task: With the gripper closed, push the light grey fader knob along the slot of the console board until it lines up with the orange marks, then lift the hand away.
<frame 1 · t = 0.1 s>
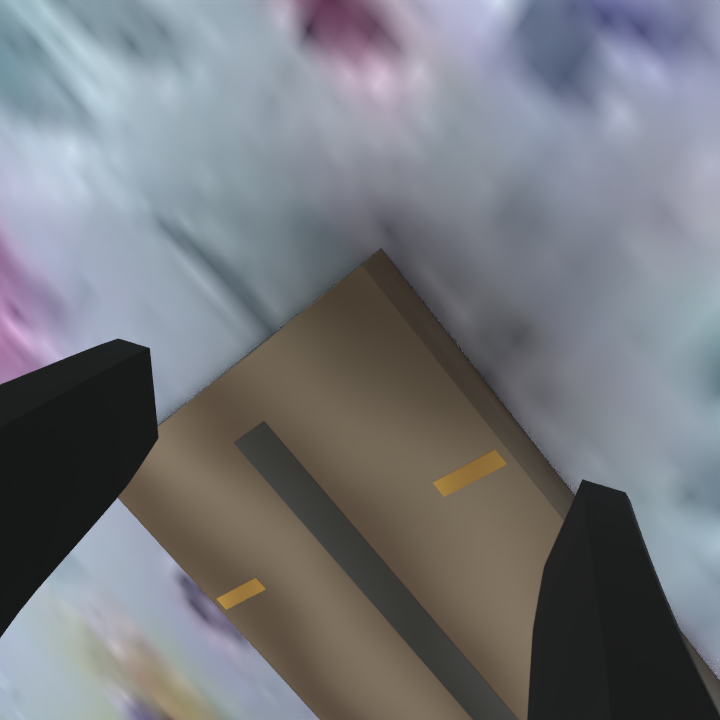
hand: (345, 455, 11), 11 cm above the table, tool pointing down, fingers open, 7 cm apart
console board: (424, 584, 25), on the table
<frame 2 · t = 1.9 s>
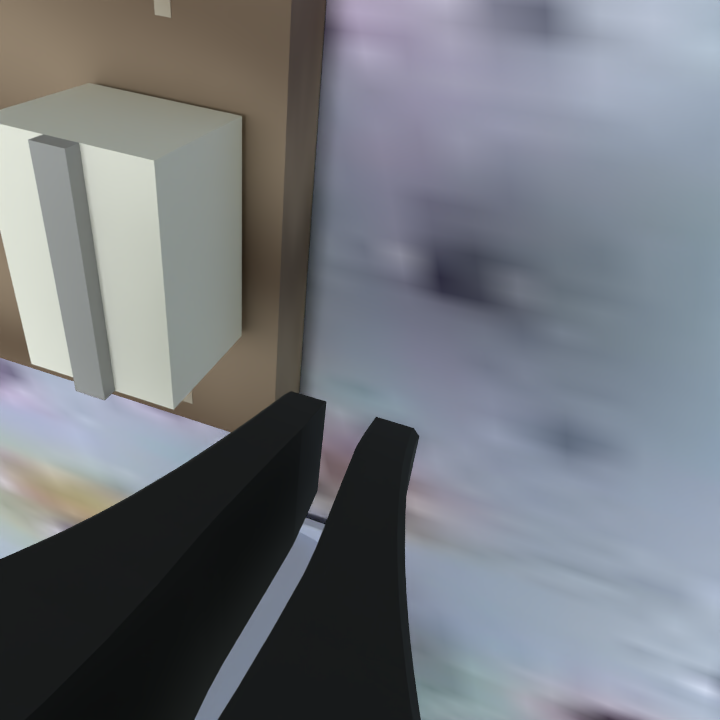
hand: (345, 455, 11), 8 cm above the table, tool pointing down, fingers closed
fader knob: (126, 249, 15), point 4 cm above the table, slide at 0.0 cm
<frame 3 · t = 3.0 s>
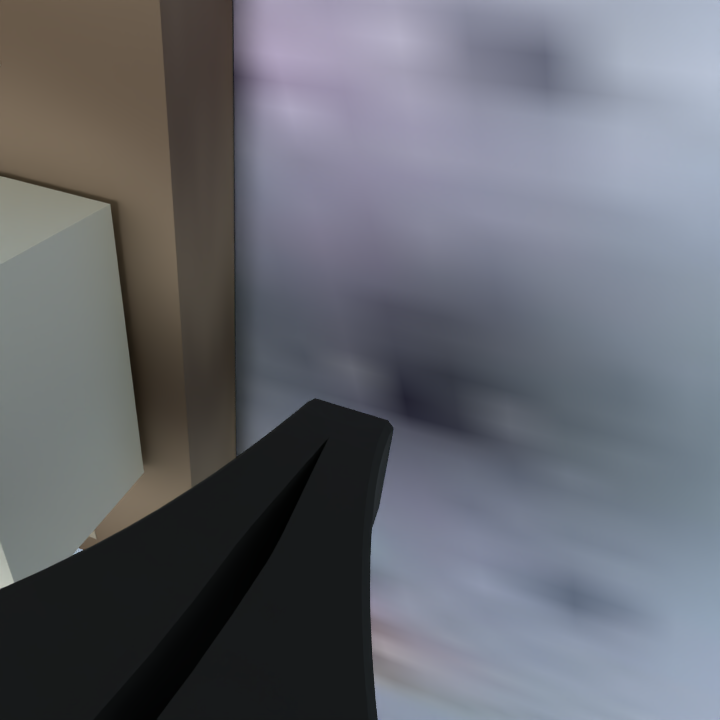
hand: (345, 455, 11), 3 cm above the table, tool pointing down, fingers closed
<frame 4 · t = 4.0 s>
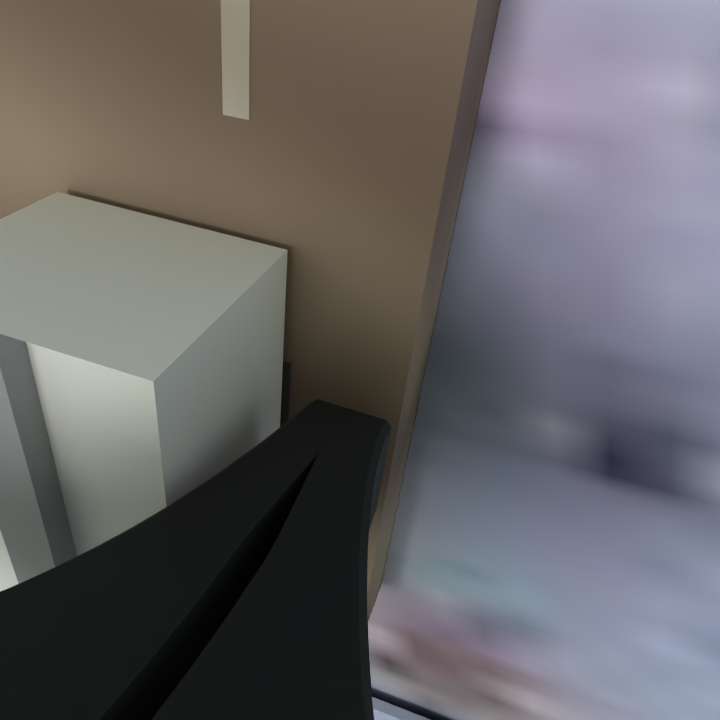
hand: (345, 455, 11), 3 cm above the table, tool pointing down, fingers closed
fader knob: (113, 441, 10), point 4 cm above the table, slide at 1.1 cm, touching gripper
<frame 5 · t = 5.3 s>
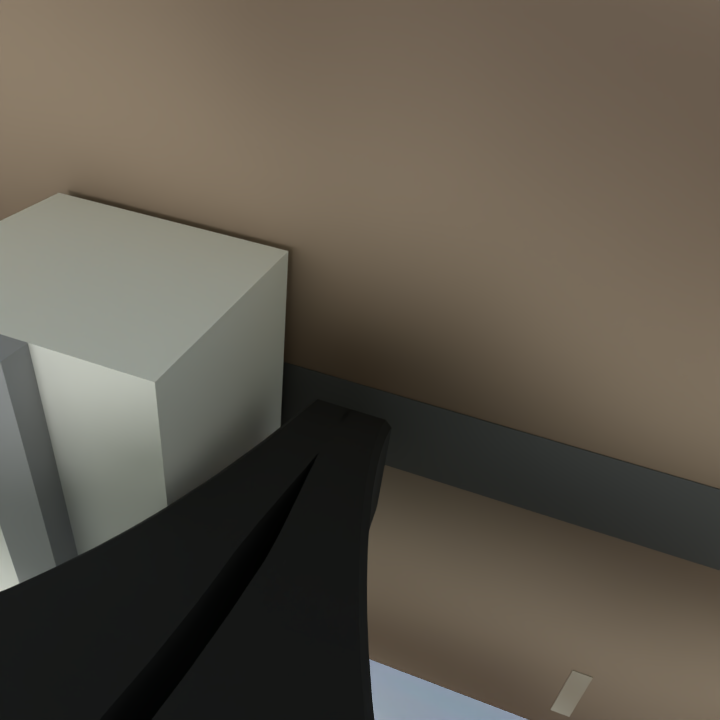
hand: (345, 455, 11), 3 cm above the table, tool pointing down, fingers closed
fader knob: (114, 442, 10), point 4 cm above the table, slide at 8.6 cm, touching gripper
console board: (264, 324, 13), on the table
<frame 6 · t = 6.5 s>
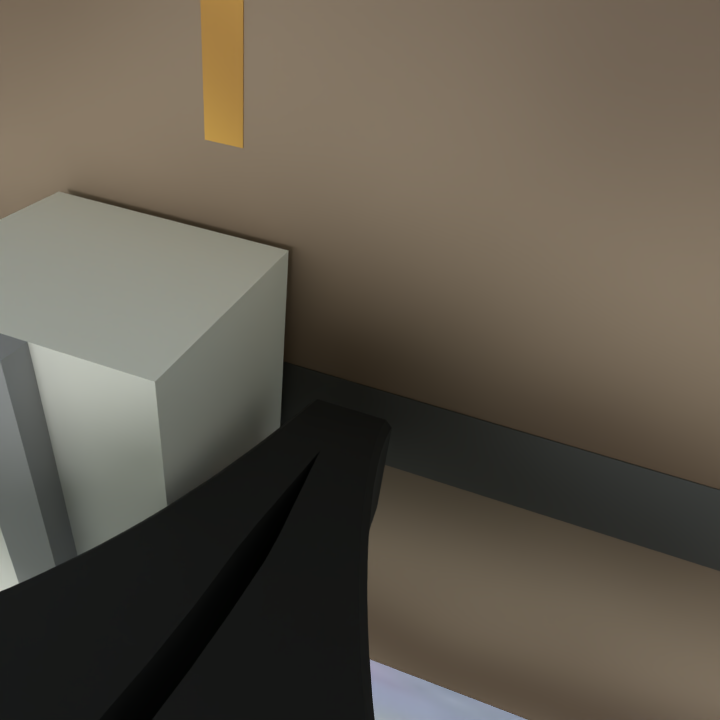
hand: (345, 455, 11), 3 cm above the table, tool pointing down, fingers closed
fader knob: (113, 441, 10), point 4 cm above the table, slide at 12.9 cm, touching gripper
console board: (464, 380, 13), on the table
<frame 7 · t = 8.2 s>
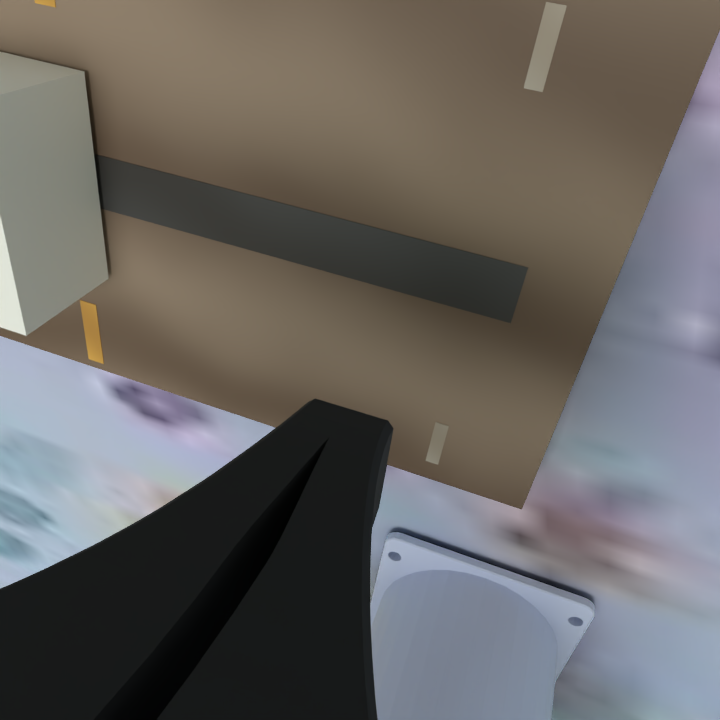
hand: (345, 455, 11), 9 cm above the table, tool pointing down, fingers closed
console board: (229, 184, 19), on the table
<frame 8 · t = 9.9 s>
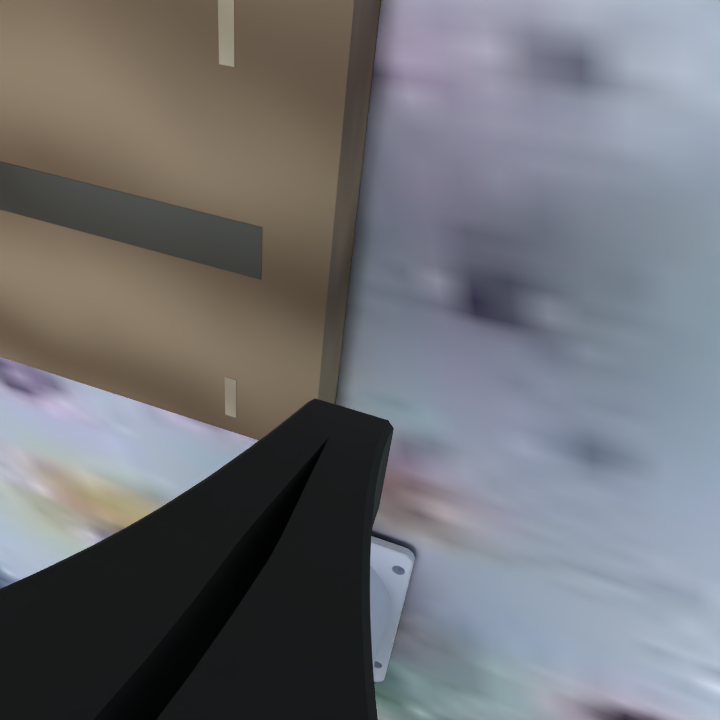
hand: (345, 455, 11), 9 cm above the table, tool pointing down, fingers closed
console board: (37, 164, 21), on the table
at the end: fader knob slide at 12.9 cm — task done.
